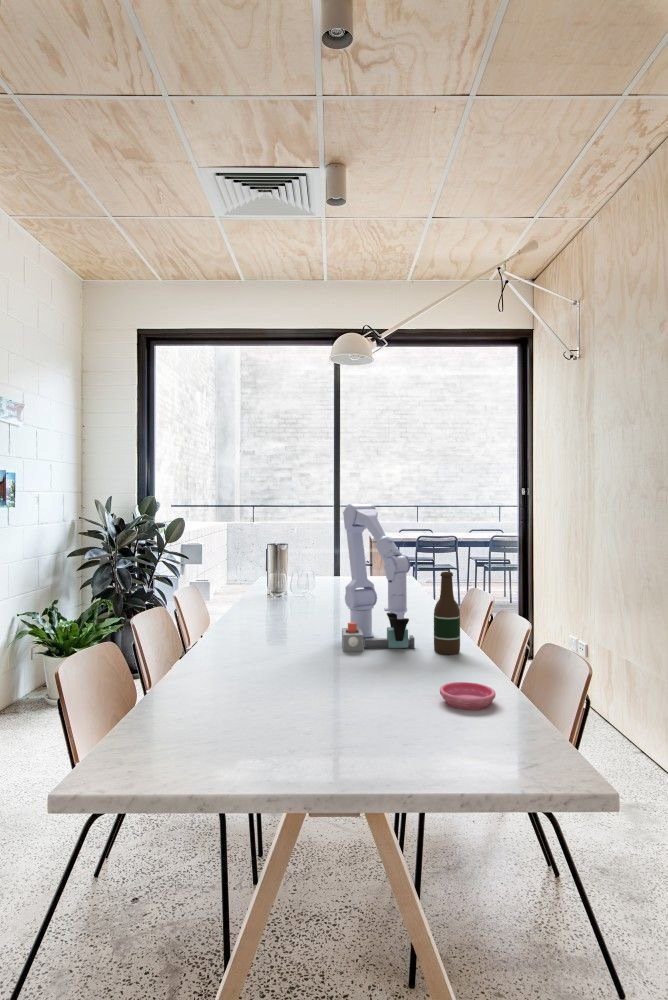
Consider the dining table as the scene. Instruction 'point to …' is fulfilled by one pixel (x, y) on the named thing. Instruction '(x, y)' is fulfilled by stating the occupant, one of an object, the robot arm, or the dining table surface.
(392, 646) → the block
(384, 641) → the rail
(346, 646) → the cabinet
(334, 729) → the dining table surface
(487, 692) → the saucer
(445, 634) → the beer bottle
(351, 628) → the plunger
